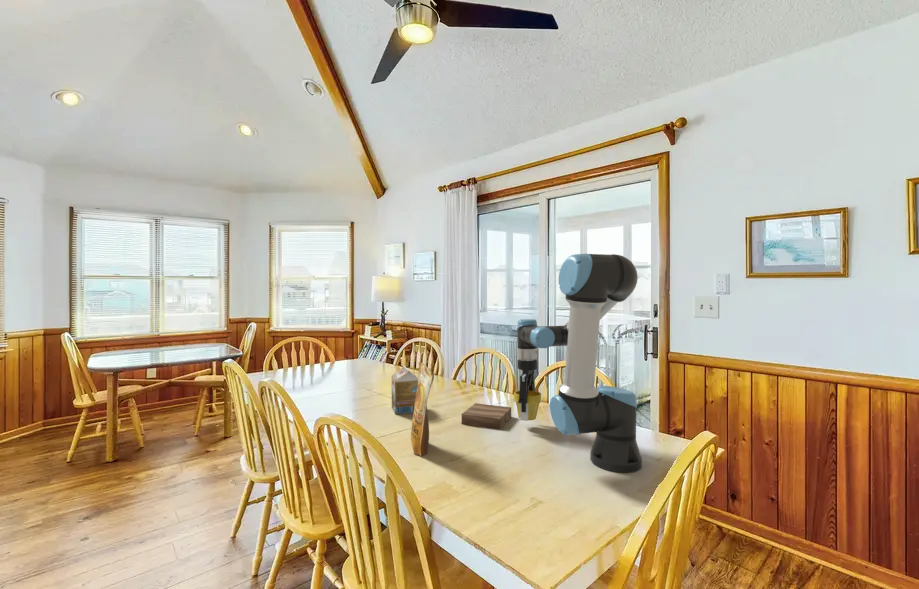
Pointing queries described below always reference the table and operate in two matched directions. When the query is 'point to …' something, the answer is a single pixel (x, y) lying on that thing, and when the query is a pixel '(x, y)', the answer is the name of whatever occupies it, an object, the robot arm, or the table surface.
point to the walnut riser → (486, 416)
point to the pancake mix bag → (421, 412)
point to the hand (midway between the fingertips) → (527, 416)
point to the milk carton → (404, 391)
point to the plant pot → (529, 403)
